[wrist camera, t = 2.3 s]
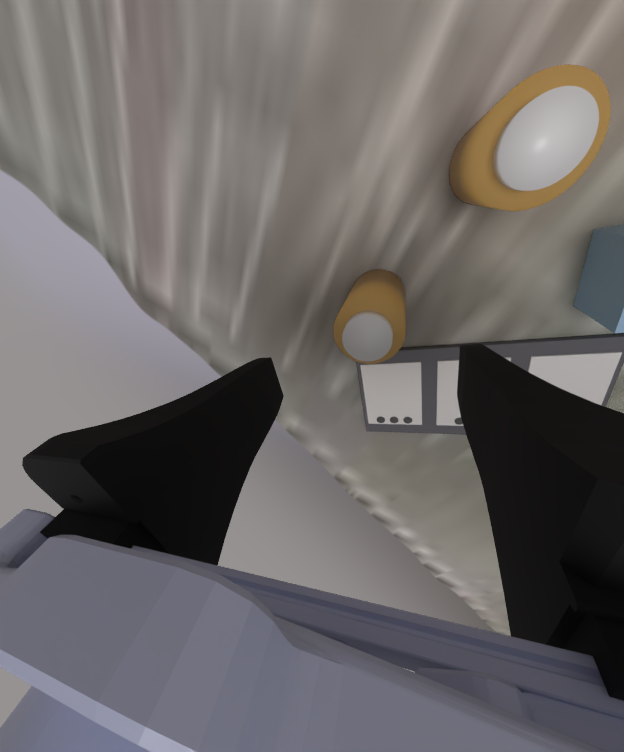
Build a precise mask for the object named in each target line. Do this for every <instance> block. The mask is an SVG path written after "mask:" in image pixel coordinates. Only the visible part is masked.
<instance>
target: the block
mask: <svg viewBox="0 0 624 752" xmlns="http://www.w3.org/2000/svg"><path fill="white" fill-rule="evenodd" d="M573 306H574V307H576V308H577V309H579V310H580V311H582V312H583V313H585V314H586V315H588V316H589V317H591V318H592V319H594V320H595V321H597V322H598V323H600V324H601V325H603V326H604V327H606V328H607V329H609V330H610V331H612V332H613V333H624V225H618V226H612V227H606V228H600V229H594V230H593V234H592V238H591V242H590V245H589V249H588V253H587V256H586V260H585V264H584V267H583V271H582V275H581V278H580V282H579V286H578V289H577V293H576V297H575V301H574V304H573Z"/></svg>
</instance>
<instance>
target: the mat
mask: <svg viewBox="0 0 624 752" xmlns="http://www.w3.org/2000/svg"><path fill="white" fill-rule="evenodd" d="M471 344H482V345H484V346H486V347H488V348H489V349H491V350H493V351H494V352H496V353H497V354H499V355H501V356H502V357H504V358H505V359H507V360H509V361H510V362H512V363H514V364H515V365H517V366H519V367H520V368H522V369H524V370H526V371H528V372H529V373H531V374H533V375H535V376H537V377H539V378H541V379H543V380H545V381H547V382H549V383H550V384H552V385H554V386H557V387H559V388H561V389H563V390H565V391H567V392H570V393H572V394H575V395H577V396H579V397H582V398H584V399H586V400H589V401H591V402H594V403H596V404H599V405H601V406H604V407H605V406H606V404H607V402H608V399H609V397H610V394H611V392H612V389H613V387H614V384H615V382H616V380H617V377H618V375H619V372H620V370H621V367H622V365H623V362H624V333H622V334H607V335H592V336H577V337H562V338H547V339H532V340H517V341H501V342H486V343H471ZM460 345H470V344H456V345H441V346H426V347H411V348H400V350H399V351H398V352H397V353H396V354H395V355H394V356H393V357H391V358H390V359H388V360H386V361H383V362H380V363H375V364H365V363H360V362H356V364H357V370H358V377H359V384H360V391H361V397H362V404H363V411H364V417H365V424H366V431H378V432H409V433H440V434H466V432H465V429H464V426H463V423H462V420H461V415H460V410H459V404H458V398H457V384H458V369H459V354H460Z"/></svg>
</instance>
